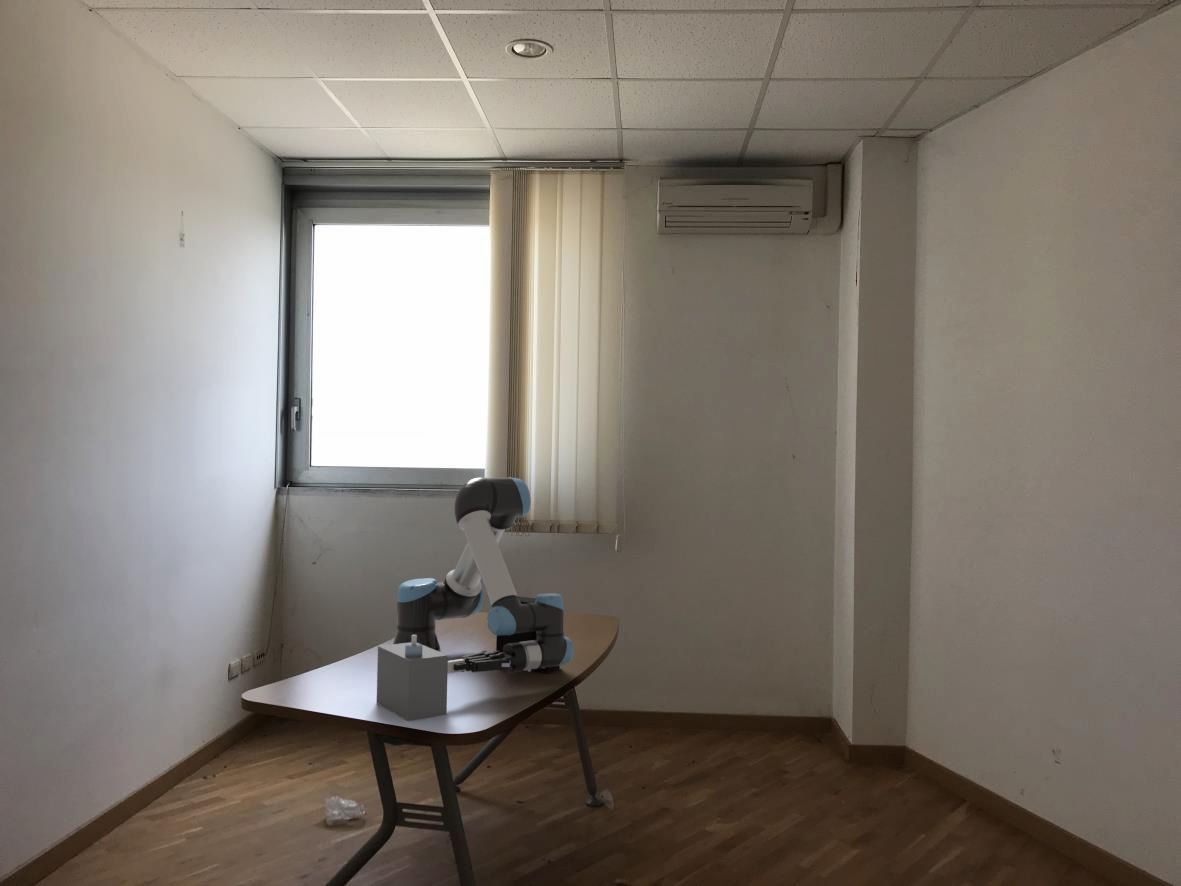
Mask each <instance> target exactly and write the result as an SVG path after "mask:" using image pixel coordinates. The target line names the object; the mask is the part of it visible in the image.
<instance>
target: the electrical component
mask: <svg viewBox="0 0 1181 886" xmlns="http://www.w3.org/2000/svg"><path fill="white" fill-rule="evenodd" d="M517 596H518V598H519V601H520V603H521V604H528V603H535V601H536V597H535V598H534V597H528V596H527V597H526V596H519V595H517ZM531 640H537V636H536V631H533V632H524V633H517V634H512V635H496V641H495V642H496V646H495V647H496V648H495V651H499V652H501V651H502V649H503V647H504V646H505V645H506V644H509V643H517V642H518V643H519V642H523V641H531ZM560 669H561V665H558V666H551V667H544V668H537V669H531V671H530V672H531V673H538V674H543V675H544V674H545V675H549V674H553V673H555V672H558V671H560ZM525 671H527V670H525ZM527 672H528V671H527Z"/></svg>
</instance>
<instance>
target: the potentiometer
mask: <svg viewBox="0 0 1181 886" xmlns="http://www.w3.org/2000/svg"><path fill="white" fill-rule="evenodd" d="M405 656H406V657H420V656H422V644H417V635H412V640H411V644H407V645H405Z"/></svg>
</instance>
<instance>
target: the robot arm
mask: <svg viewBox="0 0 1181 886" xmlns="http://www.w3.org/2000/svg"><path fill="white" fill-rule="evenodd" d="M531 499H532V498H531V493H530V489H529V487H528V485H527V484H526V482H525V481H524V480H522V479H520V478H518V477H517V478H516V477H510V476H509V477H474V478H472V479H469V480H468V481H465V483H464V484H462V486H461V487H460V488H459V490H458V492H457V494H456V497H455V500H454V506H453V507H454V510H453V511H454V517H455V521H456V524H457V527H458V528H459V529H460V530H461V531H463V532H464V535H465V537H466V541H467V543H466V545H465V547H464V549H463V551H462V553H461V555H460V558H459V559H458V562H457V565H456V566H455V569H452V570H450V571H449V572H448V573H447V574H446V576H445V578H444V580H443V581H439V582H438V581H437V580H436V579H435V578H432V577H425V578H414V579H409V580H406V581H404V582H402V583H401V584H400V585H399V586H398V589H397V591H398V592H397V597H396V601H397V603H396V604H397V606H396V607H397V608H396V609H397V610H396V611H397V613H396V614H397V616H396V633H395V636H394V639H393V642H392V644H401V643H410V642H411V640H412V635H417V643H419V644H422V645H424V646H426V647H429V648H431V649H434V650H436V651H439V652H441V645H440V642H439V638H438V636H437V633H436V621H442V620H444V621H445V620H454V619H465V618H467V617H472V616H474V615H476V614H477V613H478V612H479V611H480V610H481V608H482V605H483V602H484V599H483V597H484V590H485V593H486V596H487V598H488V601H489V603H490V606H491V609H489V610H488V612H487V616H486V620H487V627H488V629H489V631H490V632H491V633H492V634H493V635H494V636H497V635H512V634H517V633H524V632H533V631H536V636H537V640H531V641H523V642H519V643H518V642H517V643H509V644H506V645H505V646H504V647H503V649H502V651H501V652H499V651H496V650H493V651H491V652H488V650H482V651H480V652H475V653H471V654H467V655H461V656H459V659H453V660H448V674H451V673H458V672H461V673H462V672H463V673H464V672H465V671H466V672H470V671H471V672H472V673H478V672H479V673H481V672H491V671H506V672H507V673H509V674H512V673H520V672H522V671H526V670H527V672H529V673H530V672H532V671H531V669H537V668H544V667H551V666H558V665H560V666H562V665H566V664H569V663H570V662H571V660H572V659H573V657H574V646H573V642H572V640H571V639H570V638H569V637H568V636H565V633H564V623H565V622H564V619H565V618H564V615H565V614H564V613H565V608H564V607H565V606H564V599H563V598H564V597H563V596H562V594H559V593H539V594H537V595H536V597H535V598H536V601H535V603H528V604H521V603H520V601H519V598H518V596H519V595H518V593H517V591H516V588H515V586H514V584H513V581H512V578H511V575H510V573H509V569H508V567H507V564H506V562H505V560H504V557H503V554H502V551H501V549H500V546H499V543H500V541H501V539H502V537H503V534H504V532H505V531H506V530H510V529H511V528H512V527H513V525H514V524H515V522H516V519H517V518H523V517H526V516H527V515H528V513H529V512H530V509H531V503H532V502H531ZM481 582H482V583H481ZM482 585H483V587H484V590H483V587H482ZM441 653H442V652H441Z"/></svg>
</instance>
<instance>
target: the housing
mask: <svg viewBox="0 0 1181 886" xmlns="http://www.w3.org/2000/svg"><path fill="white" fill-rule="evenodd" d="M407 644H411V642H410V643H401V644H393V643H392V644H386V645H378V646H377V671H376V675H377V676H376V704H378V705H380V706H381V707H383V708H384V709H386V710H388V711H390V712H392V713H393V712H394V713H393V714H395V715H397V716H398V715H399V717H400V718H402V719H403V718H404V720H405V721H407V722H410V721H409V720H411V721H415V720H420V719H421V720H422V719H427V718H433V717H434V718H435V717H440V716H444V715H447V711H448V710H447V709H448V708H447V705H448V674H449V673H448V661H449V659H448V658H449V654H446V653H443V652H439V651H436V650H434V649H431V648H429V647H426V646H424V645H422V656H420V657H406V656H405V645H407ZM417 644H419V643H417Z"/></svg>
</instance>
